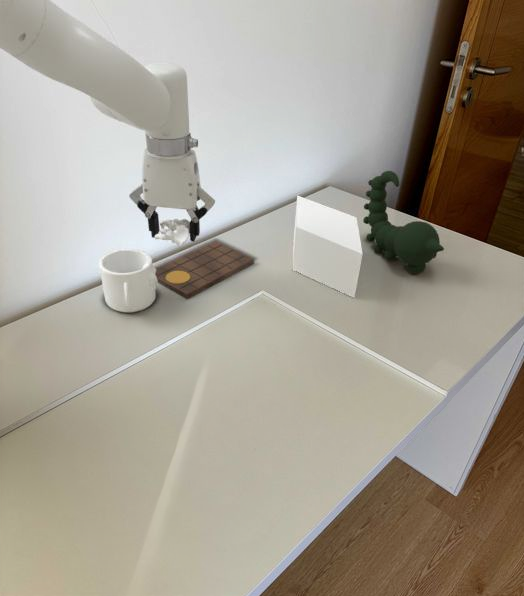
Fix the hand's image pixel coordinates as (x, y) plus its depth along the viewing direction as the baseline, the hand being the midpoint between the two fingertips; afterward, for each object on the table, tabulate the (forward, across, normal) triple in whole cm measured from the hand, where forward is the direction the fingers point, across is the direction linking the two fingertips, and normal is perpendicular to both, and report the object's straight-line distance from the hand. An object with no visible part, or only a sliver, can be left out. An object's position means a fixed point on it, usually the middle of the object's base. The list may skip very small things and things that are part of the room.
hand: (174, 235), depth 103 cm
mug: (+11, +6, +10) cm, 16 cm away
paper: (+11, -30, -13) cm, 34 cm away
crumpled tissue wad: (+1, 0, 0) cm, 1 cm away
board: (+11, -4, -6) cm, 13 cm away
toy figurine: (+11, -46, -19) cm, 52 cm away
